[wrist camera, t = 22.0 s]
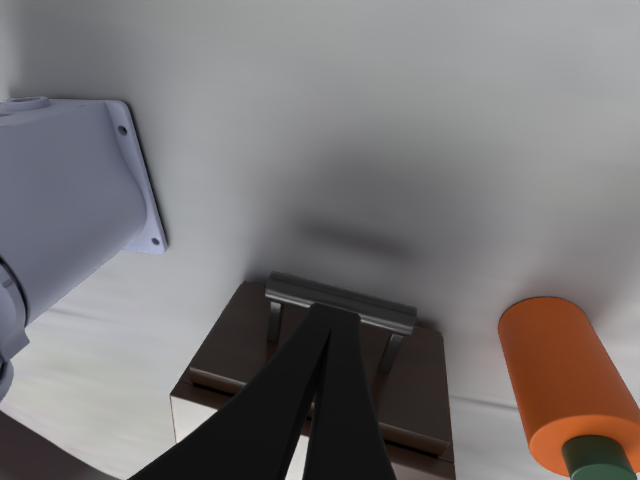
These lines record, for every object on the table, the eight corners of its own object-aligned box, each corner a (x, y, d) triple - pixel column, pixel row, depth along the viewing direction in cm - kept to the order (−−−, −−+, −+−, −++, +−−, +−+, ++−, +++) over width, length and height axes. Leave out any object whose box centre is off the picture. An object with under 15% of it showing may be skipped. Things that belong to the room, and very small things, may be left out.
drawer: (246, 222, 21) (184, 299, 15) (467, 276, 19) (489, 383, 14) (238, 404, 30) (198, 494, 25) (385, 449, 29) (378, 553, 23)
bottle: (545, 282, 20) (617, 429, 13) (607, 327, 20) (709, 491, 13) (480, 327, 22) (511, 472, 15) (537, 366, 23) (592, 522, 16)
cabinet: (240, 283, 25) (168, 394, 17) (443, 337, 23) (456, 481, 16) (235, 409, 32) (185, 520, 25) (386, 454, 31) (378, 586, 24)
